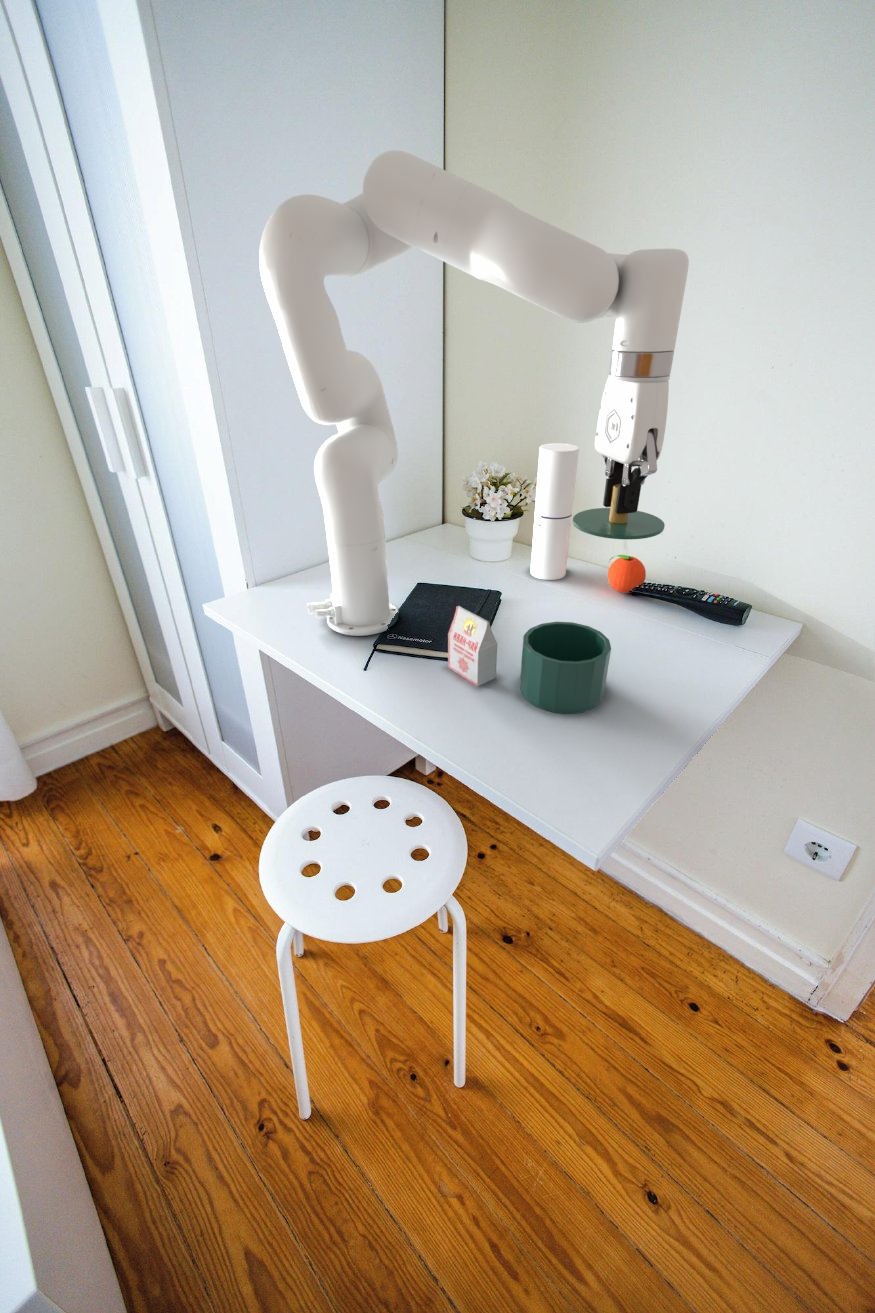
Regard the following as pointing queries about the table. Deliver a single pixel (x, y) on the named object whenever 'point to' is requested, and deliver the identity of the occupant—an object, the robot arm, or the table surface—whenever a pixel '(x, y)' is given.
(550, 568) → the cylindrical container
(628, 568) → the clementine
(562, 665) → the tin
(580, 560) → the table surface
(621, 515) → the tin lid
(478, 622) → the tea bag
